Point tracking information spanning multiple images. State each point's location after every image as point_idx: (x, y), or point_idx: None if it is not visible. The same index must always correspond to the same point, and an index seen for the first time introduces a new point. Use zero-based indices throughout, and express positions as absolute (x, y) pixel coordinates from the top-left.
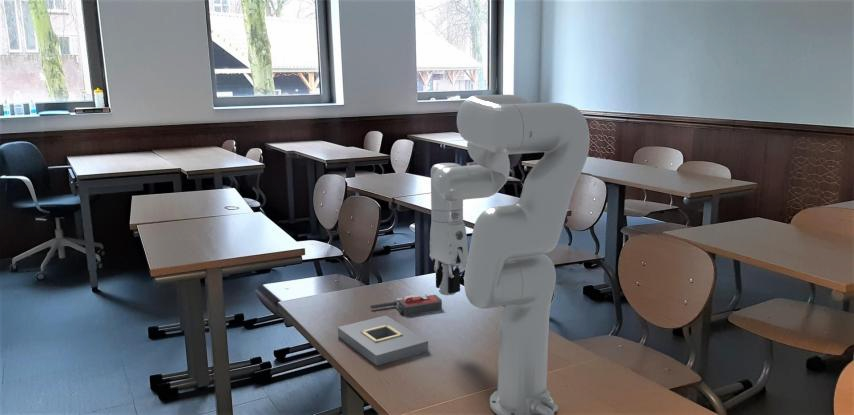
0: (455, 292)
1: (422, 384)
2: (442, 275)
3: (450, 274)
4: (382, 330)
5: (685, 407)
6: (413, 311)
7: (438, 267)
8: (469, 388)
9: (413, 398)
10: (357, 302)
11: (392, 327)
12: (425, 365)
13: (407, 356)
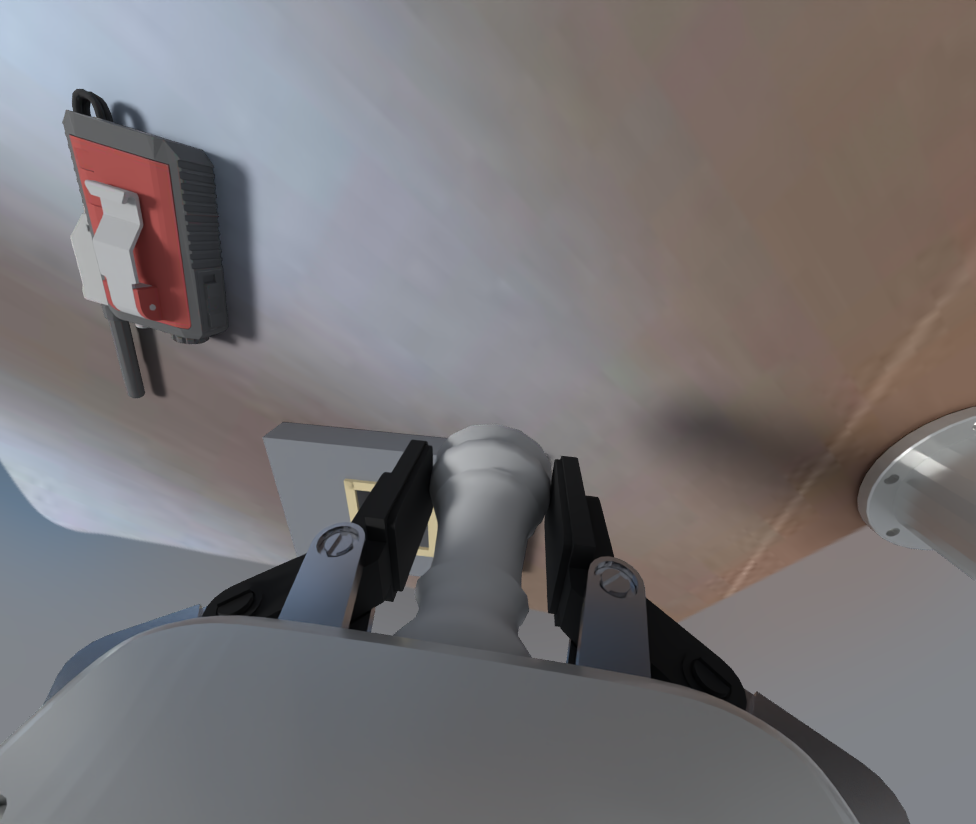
0: (550, 465)
1: (652, 552)
2: (406, 538)
3: (574, 644)
4: (361, 492)
5: None
6: (216, 300)
7: (367, 627)
8: (765, 501)
9: (680, 591)
10: (67, 386)
11: (366, 476)
12: None
13: None
